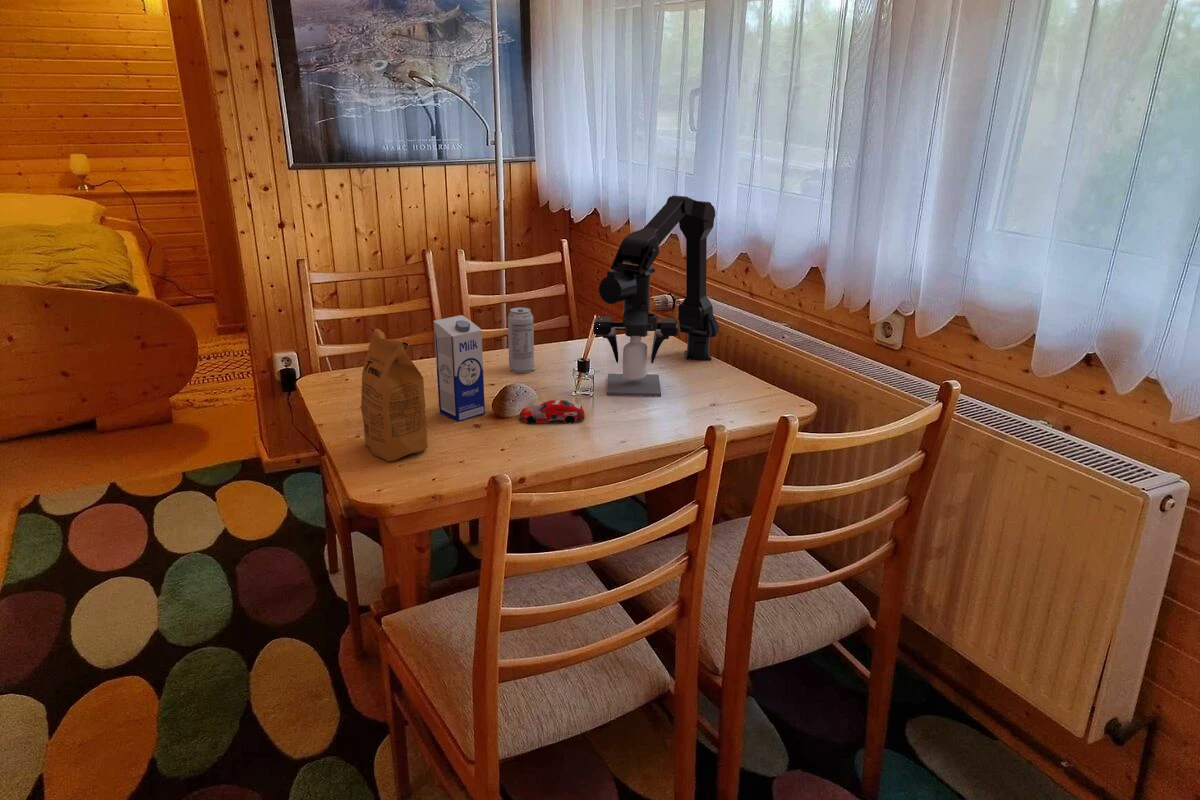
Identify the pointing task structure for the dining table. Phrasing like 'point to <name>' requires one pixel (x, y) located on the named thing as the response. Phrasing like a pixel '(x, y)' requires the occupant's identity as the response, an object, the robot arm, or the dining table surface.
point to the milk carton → (459, 368)
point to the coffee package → (392, 400)
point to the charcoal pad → (633, 386)
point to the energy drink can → (521, 340)
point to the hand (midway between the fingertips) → (634, 362)
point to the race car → (553, 412)
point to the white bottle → (634, 359)
